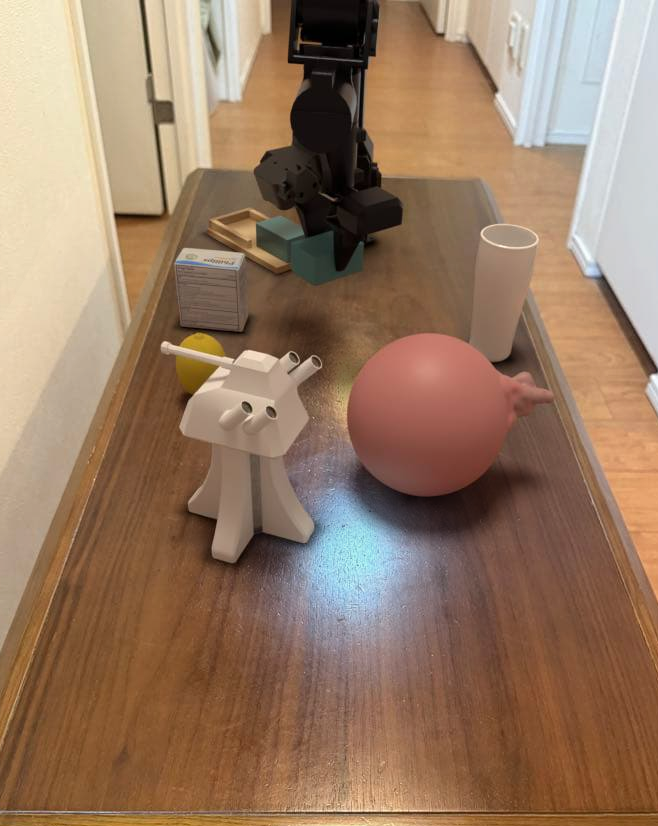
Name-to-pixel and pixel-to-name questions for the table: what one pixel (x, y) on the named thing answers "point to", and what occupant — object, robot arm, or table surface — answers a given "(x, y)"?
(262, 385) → the toy gun turret
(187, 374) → the lemon
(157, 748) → the table surface
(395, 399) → the balloon
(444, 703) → the table surface
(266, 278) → the table surface
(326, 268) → the teal rectangular block
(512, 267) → the drinking glass
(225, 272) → the medicine box
